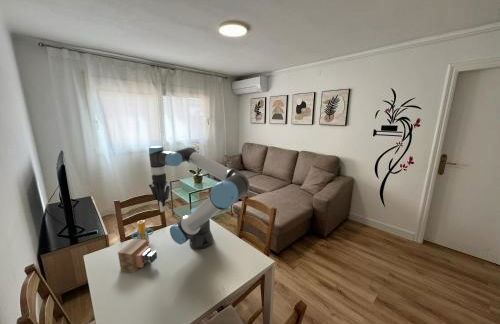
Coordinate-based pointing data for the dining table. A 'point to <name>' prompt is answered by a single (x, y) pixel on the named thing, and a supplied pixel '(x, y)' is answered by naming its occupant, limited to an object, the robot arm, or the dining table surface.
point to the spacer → (139, 256)
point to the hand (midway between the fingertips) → (162, 210)
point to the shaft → (149, 256)
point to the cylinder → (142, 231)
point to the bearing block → (130, 254)
